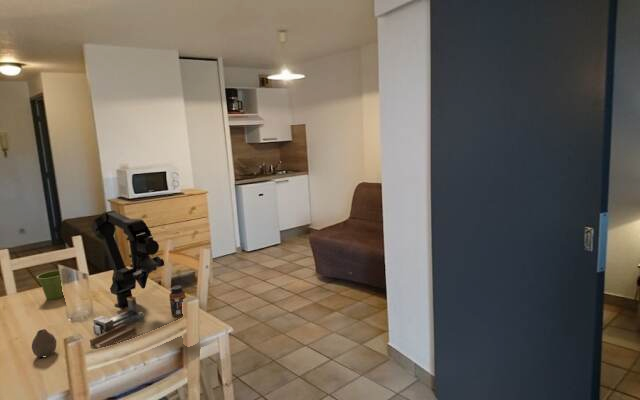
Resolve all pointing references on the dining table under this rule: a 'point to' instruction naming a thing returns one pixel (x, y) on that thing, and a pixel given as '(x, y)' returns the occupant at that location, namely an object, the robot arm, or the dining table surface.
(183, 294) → the supplement bottle
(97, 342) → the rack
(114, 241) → the robot arm
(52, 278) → the plant pot
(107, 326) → the socket
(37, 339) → the vase
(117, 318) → the bar
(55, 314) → the dining table surface
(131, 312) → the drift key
